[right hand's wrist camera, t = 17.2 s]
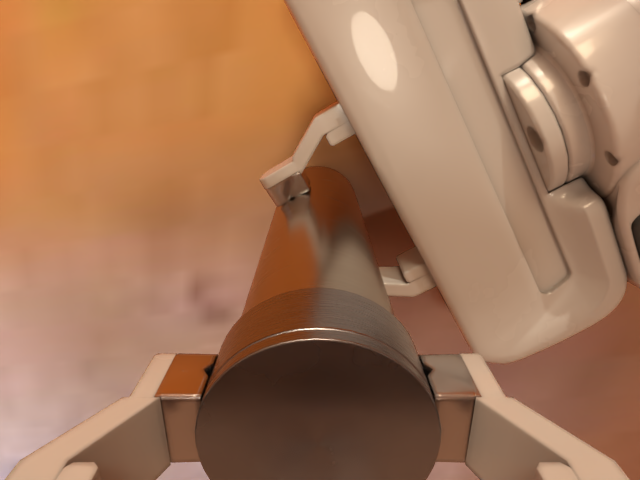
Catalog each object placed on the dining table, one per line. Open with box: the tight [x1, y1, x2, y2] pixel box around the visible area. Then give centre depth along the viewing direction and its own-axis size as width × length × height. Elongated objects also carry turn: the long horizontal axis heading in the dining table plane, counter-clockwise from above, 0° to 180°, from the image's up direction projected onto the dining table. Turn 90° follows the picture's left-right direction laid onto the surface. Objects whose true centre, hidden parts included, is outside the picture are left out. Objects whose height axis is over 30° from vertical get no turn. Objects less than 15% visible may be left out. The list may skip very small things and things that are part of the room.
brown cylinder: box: [241, 166, 394, 317], centre depth 17 cm, size 4×4×17 cm
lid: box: [195, 288, 441, 480], centre depth 10 cm, size 5×5×2 cm
